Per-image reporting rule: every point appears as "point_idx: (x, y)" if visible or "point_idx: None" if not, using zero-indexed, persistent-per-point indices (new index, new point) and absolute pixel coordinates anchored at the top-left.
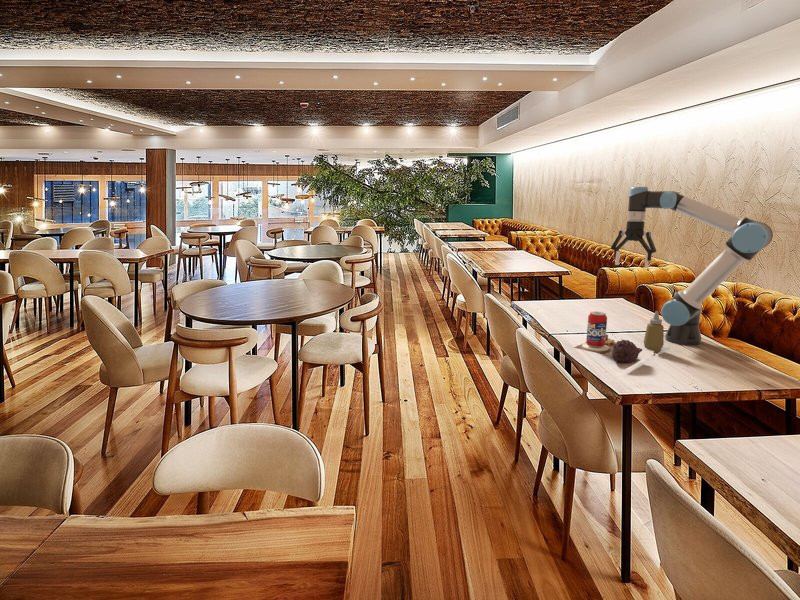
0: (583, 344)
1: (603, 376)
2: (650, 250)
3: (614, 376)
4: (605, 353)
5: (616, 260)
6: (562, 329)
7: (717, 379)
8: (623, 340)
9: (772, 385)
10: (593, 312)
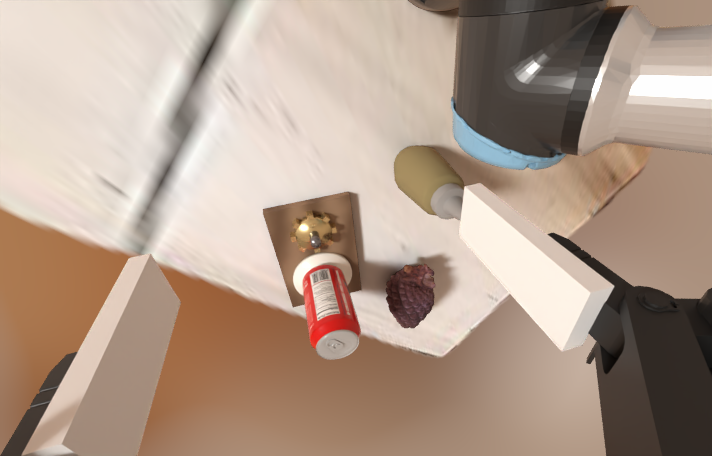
0: (298, 289)
1: (404, 338)
2: (674, 339)
3: (415, 328)
4: (359, 284)
5: (161, 347)
6: (84, 185)
7: (542, 222)
8: (415, 318)
9: (618, 177)
10: (325, 350)
